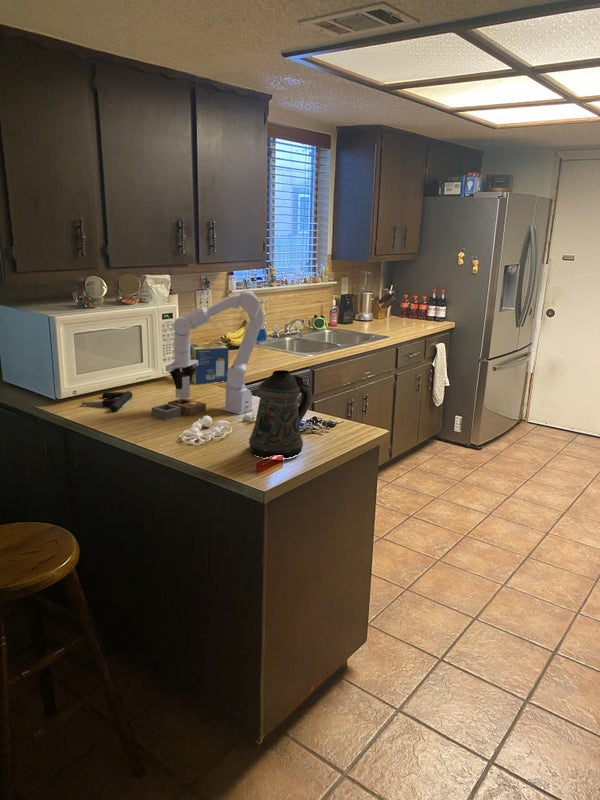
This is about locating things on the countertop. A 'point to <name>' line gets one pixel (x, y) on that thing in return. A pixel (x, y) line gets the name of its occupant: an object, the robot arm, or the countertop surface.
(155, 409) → the grey square frame
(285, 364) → the countertop surface
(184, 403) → the socket block
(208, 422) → the tangled rod sculpture
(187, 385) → the steel peg
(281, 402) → the beer stein
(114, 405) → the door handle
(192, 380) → the protein box
